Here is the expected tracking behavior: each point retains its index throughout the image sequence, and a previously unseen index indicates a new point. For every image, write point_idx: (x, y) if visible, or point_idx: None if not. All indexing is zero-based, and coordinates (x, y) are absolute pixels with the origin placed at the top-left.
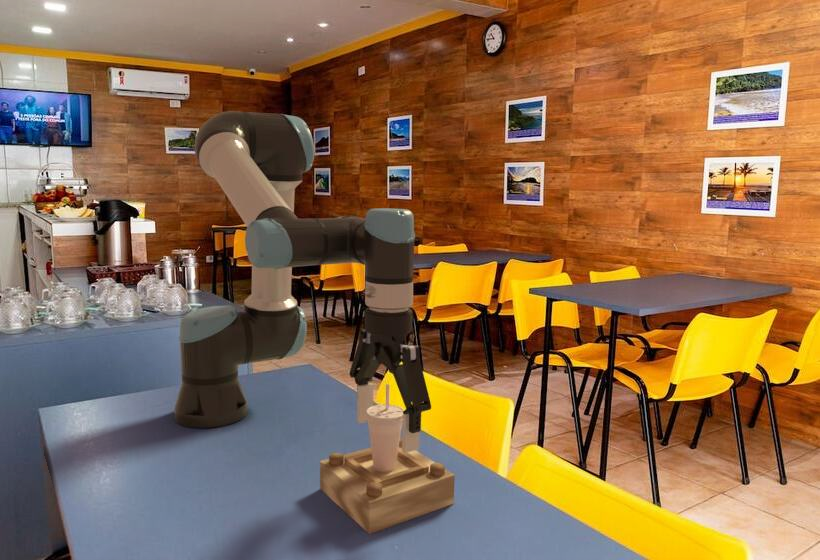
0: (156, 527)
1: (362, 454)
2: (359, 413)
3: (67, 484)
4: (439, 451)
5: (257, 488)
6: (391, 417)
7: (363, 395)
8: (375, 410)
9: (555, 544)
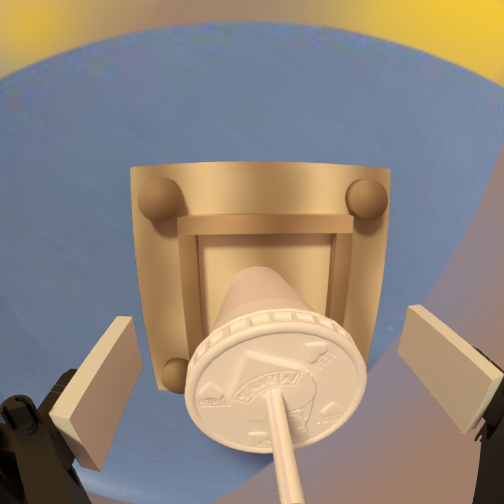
0: (181, 487)
1: (192, 328)
2: (132, 388)
3: None
4: (149, 52)
5: (131, 413)
6: (355, 407)
7: (106, 425)
8: (242, 424)
9: (490, 139)
